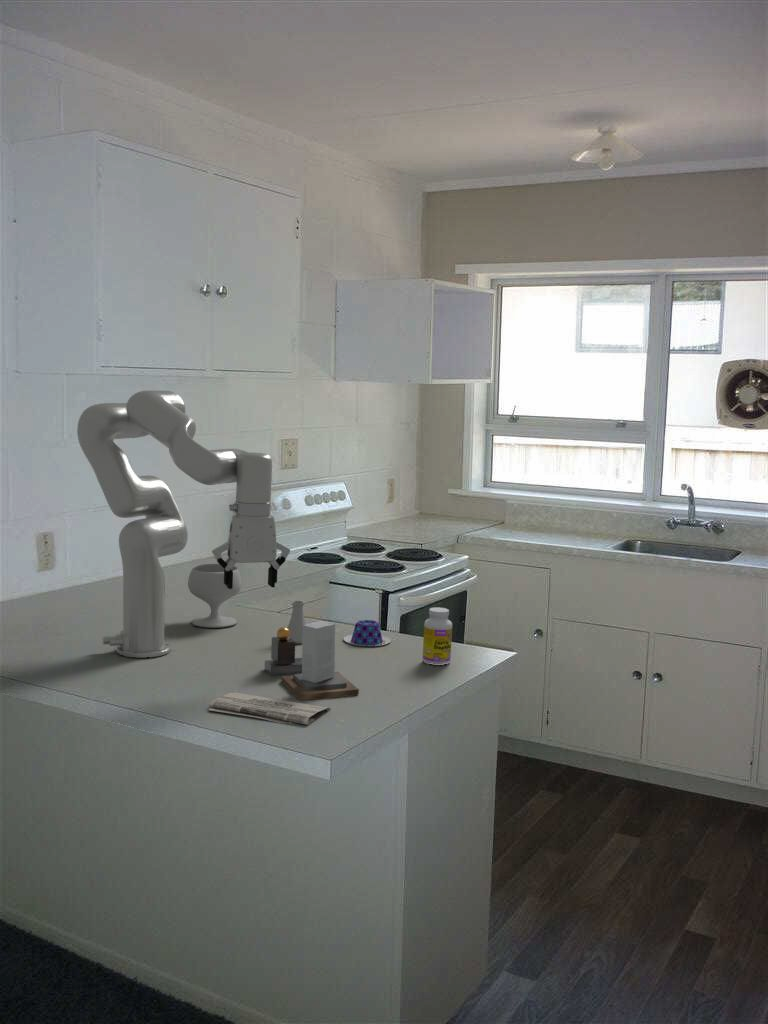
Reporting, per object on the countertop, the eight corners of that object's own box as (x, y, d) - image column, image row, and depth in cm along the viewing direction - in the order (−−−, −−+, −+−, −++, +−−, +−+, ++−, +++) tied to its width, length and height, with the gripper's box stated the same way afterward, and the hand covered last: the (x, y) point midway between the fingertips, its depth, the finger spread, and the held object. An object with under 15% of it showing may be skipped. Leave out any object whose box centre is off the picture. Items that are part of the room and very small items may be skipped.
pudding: (333, 640, 256) (334, 620, 255) (368, 633, 264) (369, 614, 264) (365, 651, 247) (366, 630, 247) (400, 643, 256) (401, 623, 255)
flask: (307, 645, 250) (308, 606, 248) (278, 643, 251) (279, 603, 250) (314, 638, 257) (315, 600, 255) (287, 636, 258) (288, 597, 257)
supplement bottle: (431, 667, 235) (433, 613, 233) (417, 660, 240) (419, 607, 239) (455, 664, 238) (458, 611, 236) (441, 657, 244) (443, 605, 242)
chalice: (227, 615, 277) (228, 561, 275) (249, 626, 266) (250, 570, 264) (179, 620, 270) (179, 565, 268) (200, 632, 258) (200, 574, 256)
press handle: (277, 664, 224) (278, 630, 223) (271, 658, 229) (271, 625, 228) (294, 663, 226) (295, 629, 225) (288, 657, 230) (288, 624, 229)
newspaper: (203, 714, 199) (204, 701, 199) (235, 702, 211) (235, 690, 211) (306, 732, 191) (307, 719, 191) (333, 719, 202) (334, 706, 202)
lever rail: (270, 675, 224) (270, 666, 224) (264, 669, 229) (264, 660, 228) (334, 670, 230) (334, 661, 230) (327, 664, 234) (327, 655, 234)
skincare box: (320, 673, 220) (321, 620, 218) (334, 677, 217) (336, 623, 215) (300, 679, 215) (301, 624, 213) (315, 683, 212) (316, 628, 211)
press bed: (299, 700, 208) (300, 690, 208) (281, 681, 220) (281, 672, 220) (358, 694, 213) (358, 685, 213) (337, 676, 225) (338, 667, 225)
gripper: (217, 512, 213) (215, 592, 215) (296, 512, 219) (293, 589, 222) (209, 507, 219) (207, 584, 222) (286, 507, 226) (283, 581, 229)
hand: (250, 586), depth 222 cm, fingers open, 9 cm apart
